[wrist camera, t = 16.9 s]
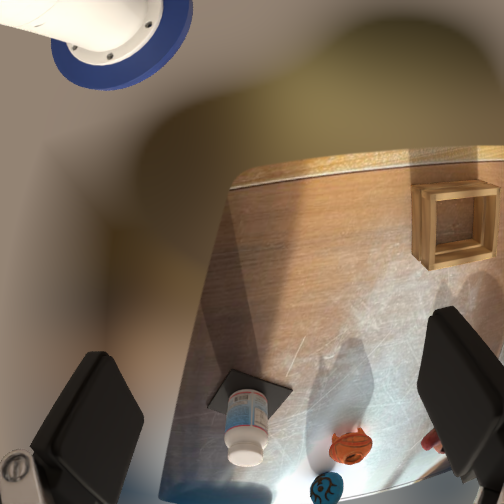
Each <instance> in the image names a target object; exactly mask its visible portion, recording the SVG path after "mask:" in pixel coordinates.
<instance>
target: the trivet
mask: <svg viewBox="0 0 504 504" xmlns="http://www.w3.org/2000/svg"><path fill="white" fill-rule="evenodd" d="M243 389H252V390H256V391H259V392H261V393H262V394H263V395H264V396H265V397H266V399H267V408H268V419H269V418H270V417H271V416H272V415H273V414H274V413H275V411H276V410H277V409H278V408H279V407H280V406H281V404H282V403H283V402H284V401H285V400H286V398H287V397H288V396H289V395H290V394H291V392H292V391H293V390H292V389H289V388H286V387H283V386H280V385H277V384H274V383H271V382H268V381H265V380H262V379H259V378H256V377H253V376H250V375H248V374H245V373H242V372H239V371H236V370H234V369H231V371H230V372H229V374H228V376H227V377H226V379H225V380H224V382H223V384H222V385H221V387H220V388H219V390H218V391H217V393H216V395H215V396H214V398H213V399H212V401H211V402H210V404H209V406H208V407H207V408H208V409H211V410H214V411H217V412H220V413H223V414H226V415H227V409H228V401H229V398H230V396H231V395H232V394H233V393H234V392H236V391H239V390H243Z"/></svg>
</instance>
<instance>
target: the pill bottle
mask: <svg viewBox="0 0 504 504" xmlns="http://www.w3.org/2000/svg"><path fill="white" fill-rule="evenodd" d="M267 443H268V408H267V399H266V397H265V396H264V395H263V394H262V393H261V392H259V391H256V390H252V389H243V390H239V391H236V392H234V393H233V394H232V395H231V396H230V398H229V401H228V409H227V418H226V428H225V444H226V445H227V447H228V448H229V450H228V459H229V461H230V462H231V463H233V464H235V465H238V466H245V467H248V466H255V465H257V464H259V463H261V462H262V460H263V449H264V448H265V447H266V446H267Z"/></svg>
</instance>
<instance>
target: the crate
mask: <svg viewBox="0 0 504 504" xmlns="http://www.w3.org/2000/svg"><path fill="white" fill-rule="evenodd" d="M411 195H412V255H413V256H414V257H415V258H416V259H417V260H418V261H421V264H422V265H423V266H424V267H425V268H426V269H427V270H428V271H431V270H436V269H441V268H446V267H451V266H456V265H461V264H465V263H470V262H475V261H479V260H484V259H489V258H493V257H496V251H497V242H498V232H499V219H500V201H501V187H498V186H495V185H493V184H488V183H487V182H484V181H481V180H465V181H453V182H441V183H430V184H420V185H411ZM467 197H474V217H473V234H472V239H467V240H461V241H455V242H449V243H444V244H438V245H436V201H440V200H449V199H458V198H467Z"/></svg>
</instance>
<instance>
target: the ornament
mask: <svg viewBox="0 0 504 504" xmlns="http://www.w3.org/2000/svg"><path fill="white" fill-rule="evenodd" d="M342 493H343V479H342V477H341V476H340V475H339V474H338V473H334V472H329V473H325V474H321V475H319V476H317V477H316V479H315V480H314V482H313V483H312V485H311V487H310V497H311V499H312V501H313V503H314V504H337V503H338V501H339V500H340V498H341V496H342Z"/></svg>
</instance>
